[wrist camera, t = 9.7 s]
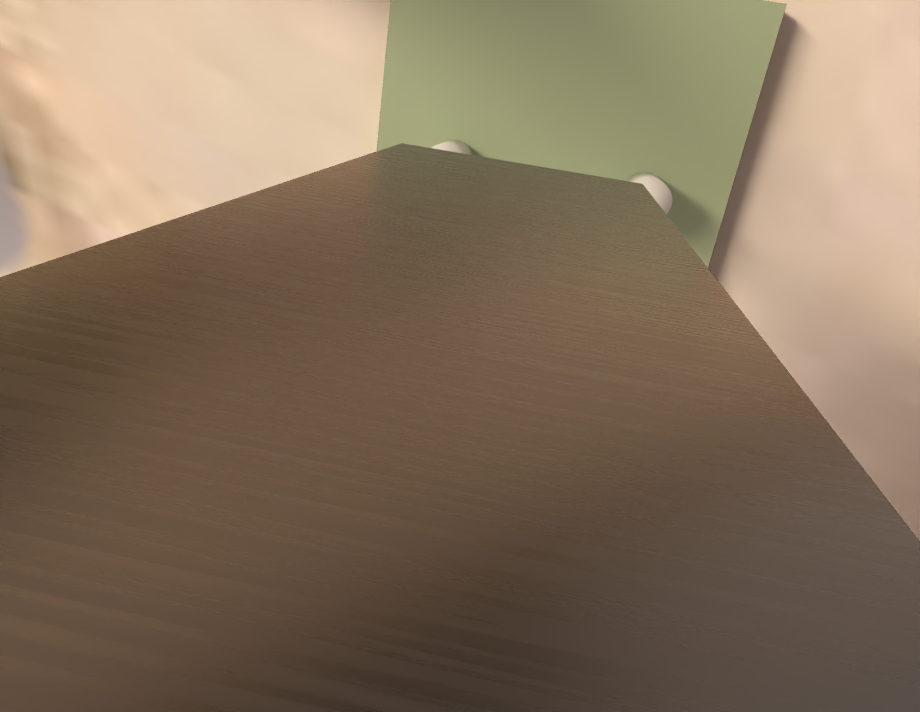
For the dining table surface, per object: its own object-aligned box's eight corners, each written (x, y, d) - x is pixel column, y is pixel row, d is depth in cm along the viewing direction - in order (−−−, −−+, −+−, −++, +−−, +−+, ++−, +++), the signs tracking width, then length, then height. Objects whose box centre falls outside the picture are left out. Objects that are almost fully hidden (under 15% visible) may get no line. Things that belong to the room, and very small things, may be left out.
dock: (777, 7, 22) (812, -7, 19) (632, 501, 30) (639, 550, 27) (402, -47, 24) (375, -69, 20) (354, 442, 31) (329, 482, 28)
